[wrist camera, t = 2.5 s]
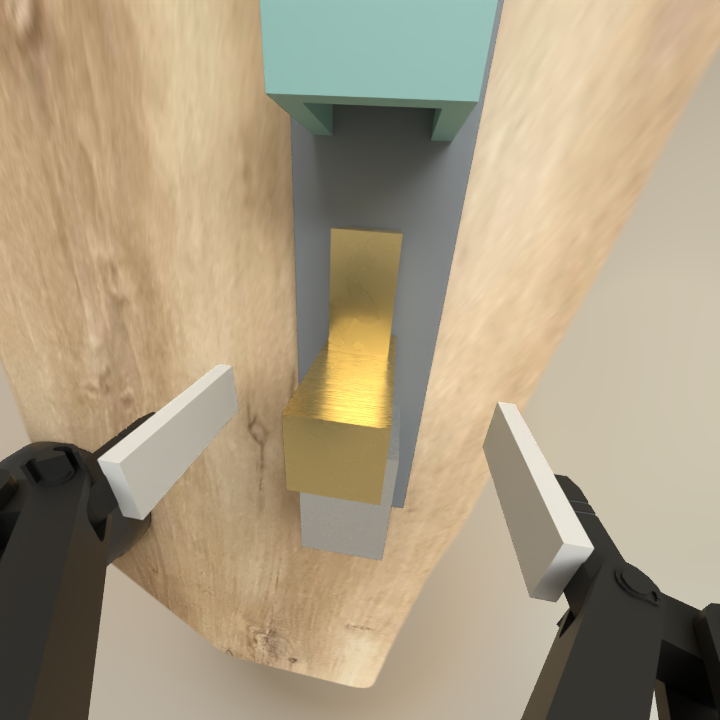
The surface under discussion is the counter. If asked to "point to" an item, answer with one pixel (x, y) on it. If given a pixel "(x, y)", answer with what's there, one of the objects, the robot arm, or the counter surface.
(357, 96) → the socket
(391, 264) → the gold stepped block
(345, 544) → the grey rectangular sleeve
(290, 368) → the counter surface
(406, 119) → the slate board
